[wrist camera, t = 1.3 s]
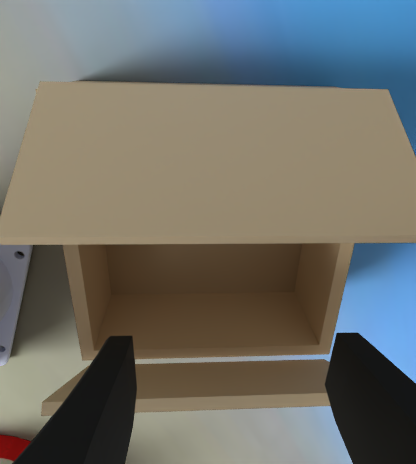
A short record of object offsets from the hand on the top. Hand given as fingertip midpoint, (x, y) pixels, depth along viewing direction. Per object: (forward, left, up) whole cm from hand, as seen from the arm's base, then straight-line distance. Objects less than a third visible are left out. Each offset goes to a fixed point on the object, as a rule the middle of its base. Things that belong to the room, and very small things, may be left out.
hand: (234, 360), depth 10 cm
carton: (+1, +1, -10) cm, 10 cm away
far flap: (-4, -1, -3) cm, 5 cm away
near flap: (+5, +2, -3) cm, 6 cm away
